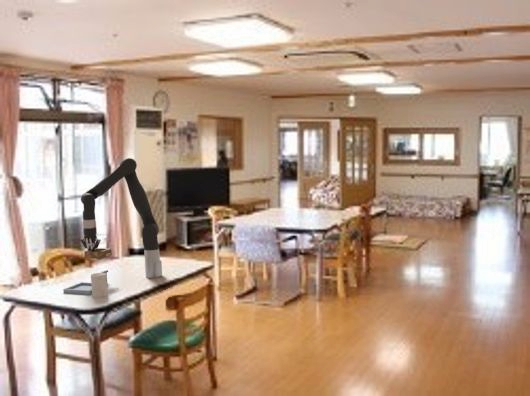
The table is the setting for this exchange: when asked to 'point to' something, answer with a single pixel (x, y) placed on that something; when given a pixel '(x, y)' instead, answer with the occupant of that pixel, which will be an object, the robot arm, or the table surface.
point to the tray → (80, 288)
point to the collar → (98, 253)
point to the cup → (99, 285)
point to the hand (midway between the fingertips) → (91, 255)
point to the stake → (105, 272)
